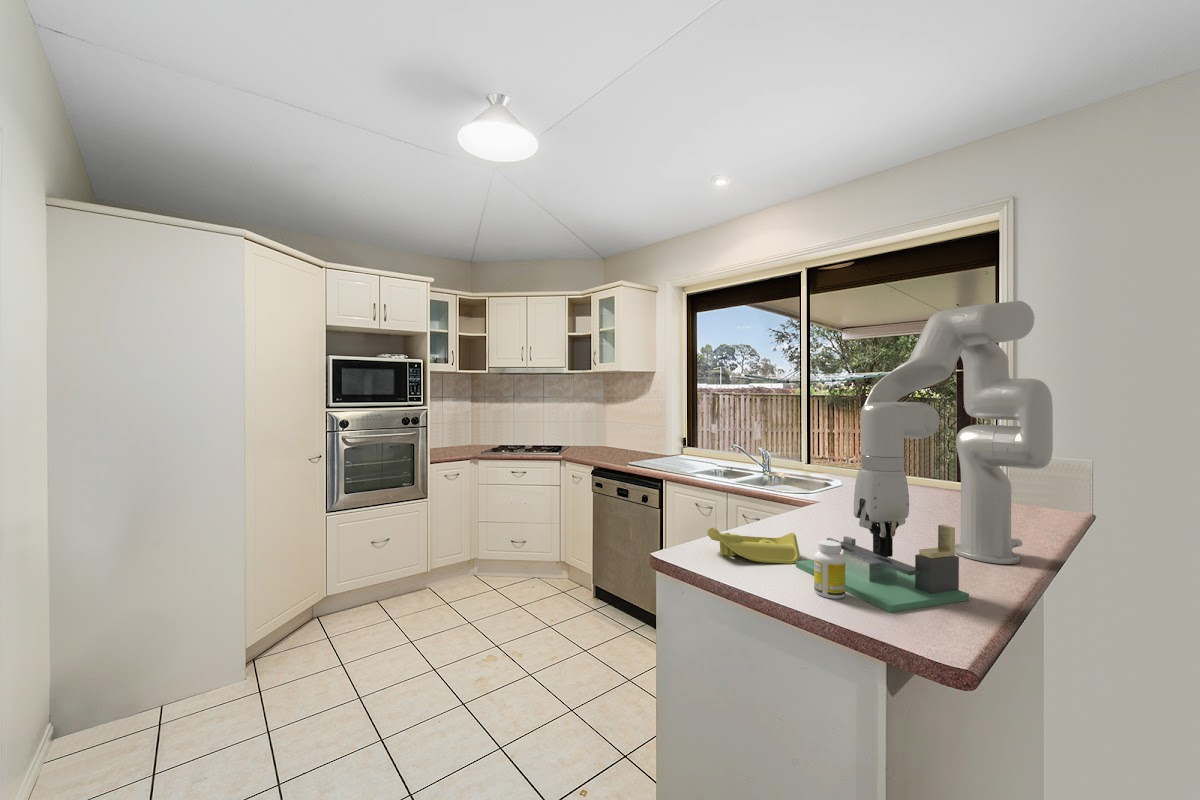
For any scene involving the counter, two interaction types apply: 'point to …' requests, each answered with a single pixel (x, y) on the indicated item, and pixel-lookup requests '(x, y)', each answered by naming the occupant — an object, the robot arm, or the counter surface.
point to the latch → (942, 544)
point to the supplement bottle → (829, 570)
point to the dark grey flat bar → (880, 559)
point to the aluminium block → (867, 568)
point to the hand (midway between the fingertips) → (882, 554)
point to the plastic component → (758, 547)
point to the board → (890, 589)
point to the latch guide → (937, 574)
